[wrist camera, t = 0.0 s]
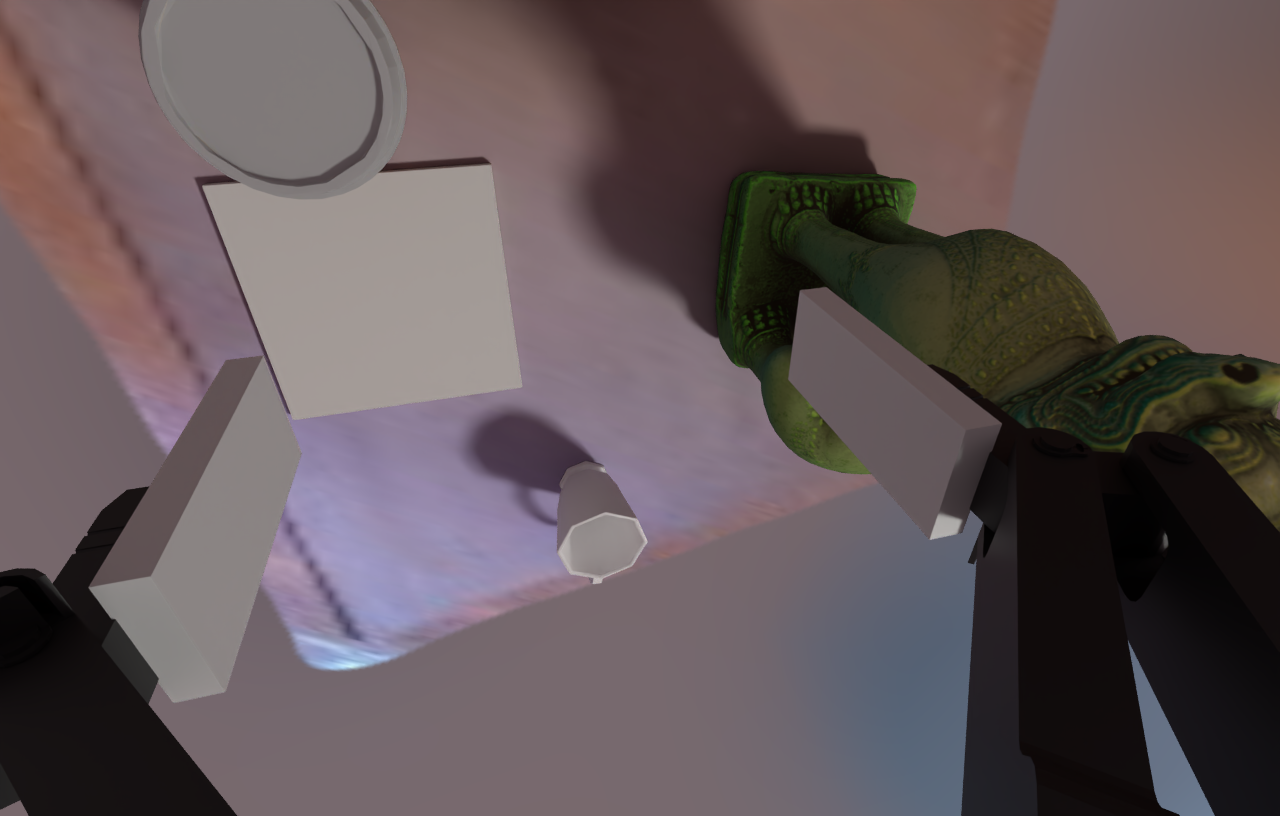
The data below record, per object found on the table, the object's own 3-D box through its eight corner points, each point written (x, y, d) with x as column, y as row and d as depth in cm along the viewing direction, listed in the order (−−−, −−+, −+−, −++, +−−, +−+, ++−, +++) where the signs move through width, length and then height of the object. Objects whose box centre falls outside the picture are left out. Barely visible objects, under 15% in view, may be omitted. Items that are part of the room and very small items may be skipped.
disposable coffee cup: (276, -102, 30) (195, -146, 21) (450, 46, 35) (451, 66, 26) (188, 69, 33) (79, 100, 23) (362, 185, 38) (332, 250, 28)
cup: (627, 444, 54) (651, 507, 47) (619, 532, 59) (641, 599, 52) (543, 451, 52) (557, 517, 45) (543, 541, 57) (556, 611, 51)
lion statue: (894, 152, 45) (1640, 417, 17) (841, 357, 54) (1271, 756, 26) (718, 148, 42) (1277, 469, 14) (692, 367, 51) (998, 836, 23)
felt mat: (204, 183, 36) (202, 186, 36) (490, 163, 39) (490, 164, 39) (294, 416, 45) (293, 420, 44) (521, 384, 48) (522, 387, 47)
